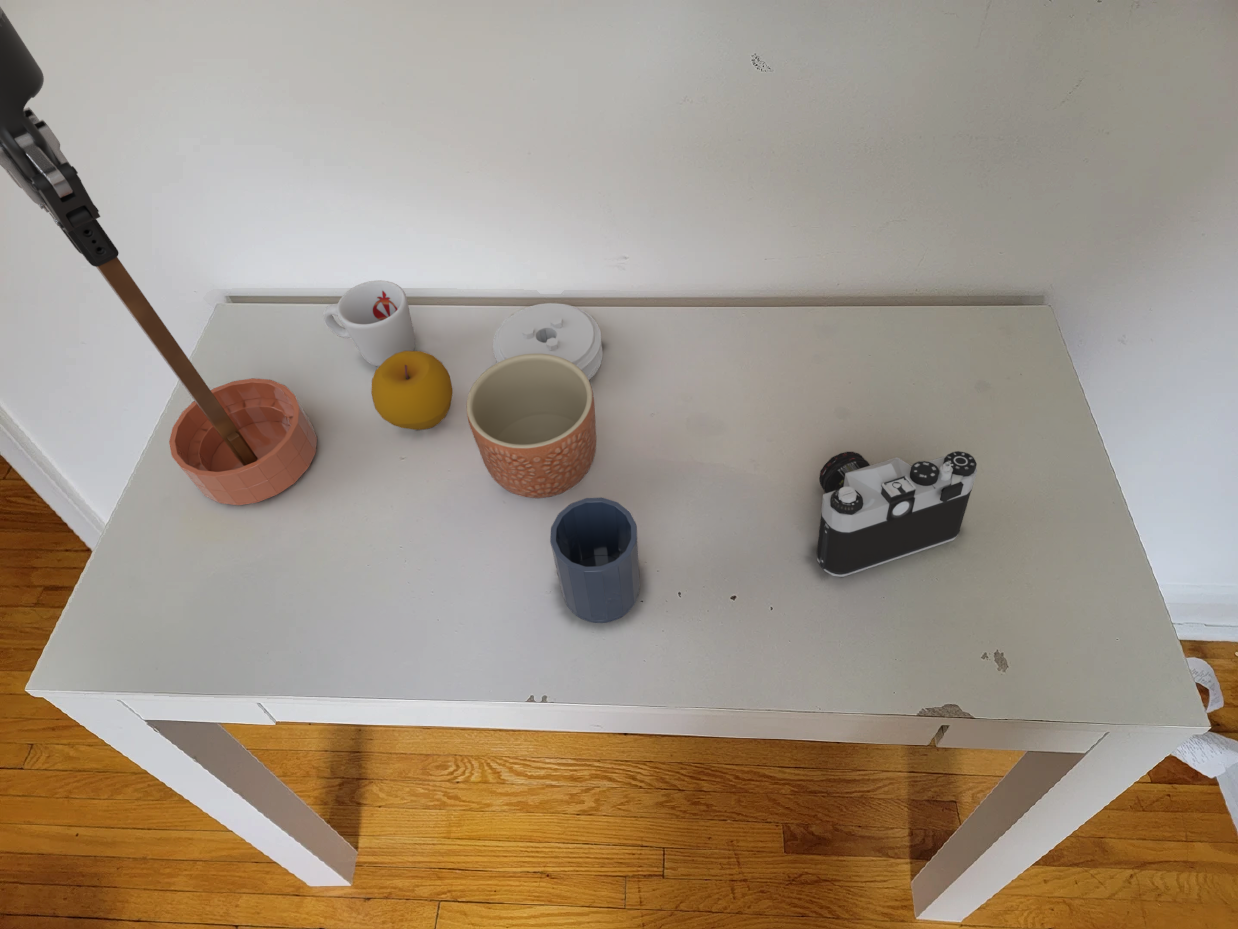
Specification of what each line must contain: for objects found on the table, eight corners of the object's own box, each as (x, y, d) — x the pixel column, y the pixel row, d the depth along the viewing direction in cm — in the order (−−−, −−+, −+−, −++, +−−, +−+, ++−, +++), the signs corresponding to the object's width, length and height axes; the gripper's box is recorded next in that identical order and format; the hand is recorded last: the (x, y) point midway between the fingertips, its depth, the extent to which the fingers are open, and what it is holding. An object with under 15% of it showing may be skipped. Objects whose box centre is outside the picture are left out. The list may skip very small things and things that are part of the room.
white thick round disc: (483, 345, 94) (475, 314, 90) (578, 312, 97) (574, 281, 93) (519, 415, 87) (512, 385, 83) (620, 378, 90) (618, 347, 86)
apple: (396, 459, 84) (371, 406, 77) (378, 407, 89) (353, 352, 82) (470, 432, 86) (453, 378, 79) (448, 382, 91) (430, 327, 84)
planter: (462, 480, 82) (438, 413, 73) (533, 405, 88) (519, 335, 79) (554, 533, 77) (540, 469, 69) (623, 451, 83) (618, 382, 75)
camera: (908, 472, 81) (923, 398, 75) (972, 543, 74) (996, 468, 67) (782, 512, 79) (786, 439, 72) (834, 589, 71) (844, 516, 65)
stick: (249, 472, 81) (58, 211, 56) (234, 455, 83) (41, 194, 57) (262, 463, 82) (80, 201, 56) (247, 447, 83) (63, 184, 58)
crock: (600, 638, 70) (592, 588, 62) (546, 589, 74) (532, 534, 66) (655, 586, 73) (654, 531, 65) (601, 540, 77) (594, 483, 69)
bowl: (234, 531, 79) (206, 498, 75) (176, 461, 85) (147, 427, 81) (342, 456, 85) (322, 421, 80) (280, 396, 91) (259, 360, 86)
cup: (326, 370, 93) (301, 321, 86) (351, 325, 97) (328, 275, 91) (411, 378, 91) (392, 329, 85) (431, 332, 96) (415, 281, 90)
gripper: (-165, 12, 48) (20, 241, 62) (-101, 81, 42) (89, 318, 56) (-41, -28, 51) (109, 199, 65) (36, 31, 45) (184, 268, 59)
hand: (99, 253), depth 60 cm, fingers closed on stick, 1 cm apart
